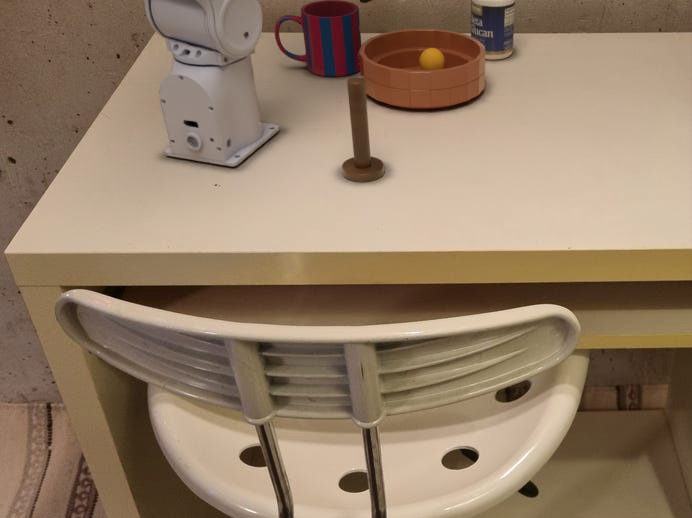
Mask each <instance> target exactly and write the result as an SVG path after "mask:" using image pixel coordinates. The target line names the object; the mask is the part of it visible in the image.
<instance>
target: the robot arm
mask: <svg viewBox="0 0 692 518" xmlns="http://www.w3.org/2000/svg"><path fill="white" fill-rule="evenodd" d="M372 1H373V0H359V3H362V4H367V3H369V2H372ZM143 3H144V10H145V16H146V18H147V20H148V21H147V22H148V23H149V25H150V27H151V28H152V30H153V31H154V32H155V33H156V34H157V35H158V36H159V37H161V38H162V39H164V40H165V45H166V50H167V51H169V52H171V54H172V65H171V68H170V71H169V72H168V73H167V75H166V76H165V77H164V78H163V79H162V81H161V82H160V87H159V90H158V97H159V103H160V107H161V112H162V115H163V119H164V125H165V127H166V132H167V137H168V140H169V144H170V146H168V147H166V149H165V150H164V154H165V156H168V157H173V158H178V159H185V160H190V161H196V162H201V163H202V162H203V163H207V164H214V165H220V166H225V167H231V168H232V167H233V168H234V167H236V166H238V165H240V164H241V163H242V162H243V161H244V160H245V159H247V158H248V157H249V156H251V155H252V154H253V153H254V152H255V151H257V149H258V148H260V147H261V146H262V145H263V144H265V143H266V142H267V141H269V139H271V138H272V137H273V136H274V135H275V134H277V133H278V132H279V131H280V126H279V125H278V124H274V123H267V122H262V118H261V117H262V116H261V112H260V104H259V100H258V99H259V98H258V92H257V87H256V86H257V85H256V80H255V73H254V68H253V67H254V66H253V62H252V61H253V60H252V55H253V54H256V46H257V45H258V43H259V41H260V39H261V35H262V32H263V25H264V24H263V23H264V17H263V11H262V5H261V3H260V1H259V0H143Z"/></svg>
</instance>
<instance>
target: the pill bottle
mask: <svg viewBox="0 0 692 518" xmlns="http://www.w3.org/2000/svg"><path fill="white" fill-rule="evenodd" d="M515 9H516V0H470V36H471V37H473V38H475V39H477V40H479V41H480V42H481V43H482V44H483V45H484V46H485V60H491V61H493V60H495V61H496V60H503V59H506V58H508V57H510V56H511V55H512V54H513V50H514V31H515V11H516V10H515Z"/></svg>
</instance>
